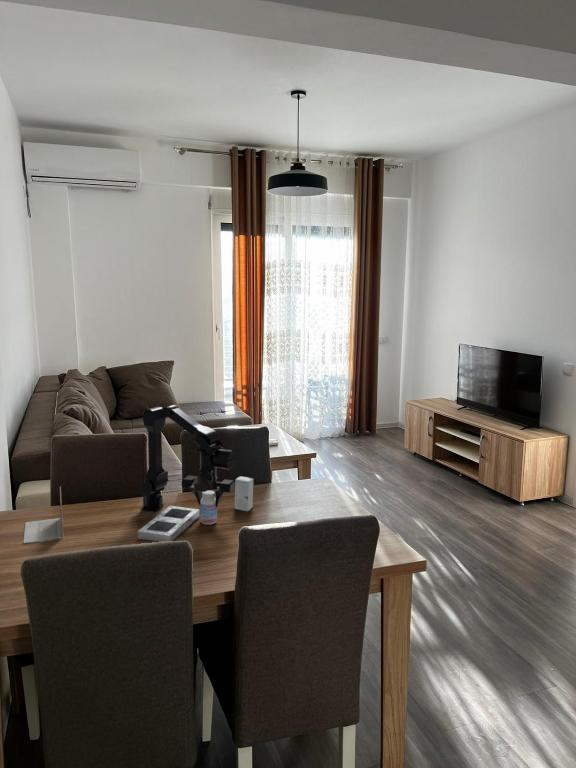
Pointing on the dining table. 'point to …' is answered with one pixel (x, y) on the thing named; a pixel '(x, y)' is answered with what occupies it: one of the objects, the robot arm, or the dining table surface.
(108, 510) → the dining table surface
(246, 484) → the skincare box
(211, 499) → the pill bottle
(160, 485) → the robot arm
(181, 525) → the white compartment tray
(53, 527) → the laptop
